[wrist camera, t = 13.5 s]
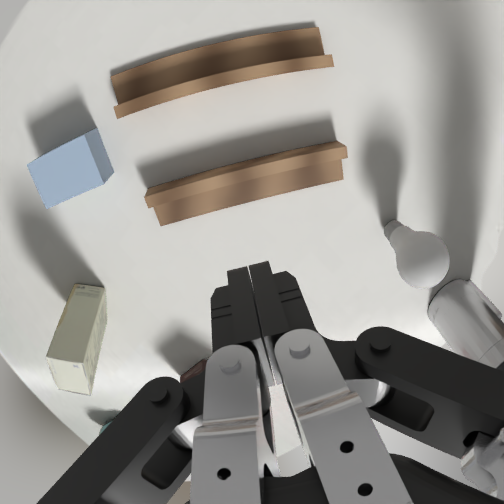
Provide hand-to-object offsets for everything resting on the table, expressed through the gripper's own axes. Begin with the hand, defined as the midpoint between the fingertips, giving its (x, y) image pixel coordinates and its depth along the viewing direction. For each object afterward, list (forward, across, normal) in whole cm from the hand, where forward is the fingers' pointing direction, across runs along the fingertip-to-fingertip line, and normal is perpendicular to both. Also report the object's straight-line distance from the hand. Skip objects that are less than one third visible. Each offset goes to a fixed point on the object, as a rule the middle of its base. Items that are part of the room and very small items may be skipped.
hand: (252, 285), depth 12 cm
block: (+22, +15, -4) cm, 27 cm away
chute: (+22, -2, -2) cm, 22 cm away
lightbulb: (+23, -18, +14) cm, 32 cm away
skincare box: (+22, +21, +14) cm, 34 cm away
